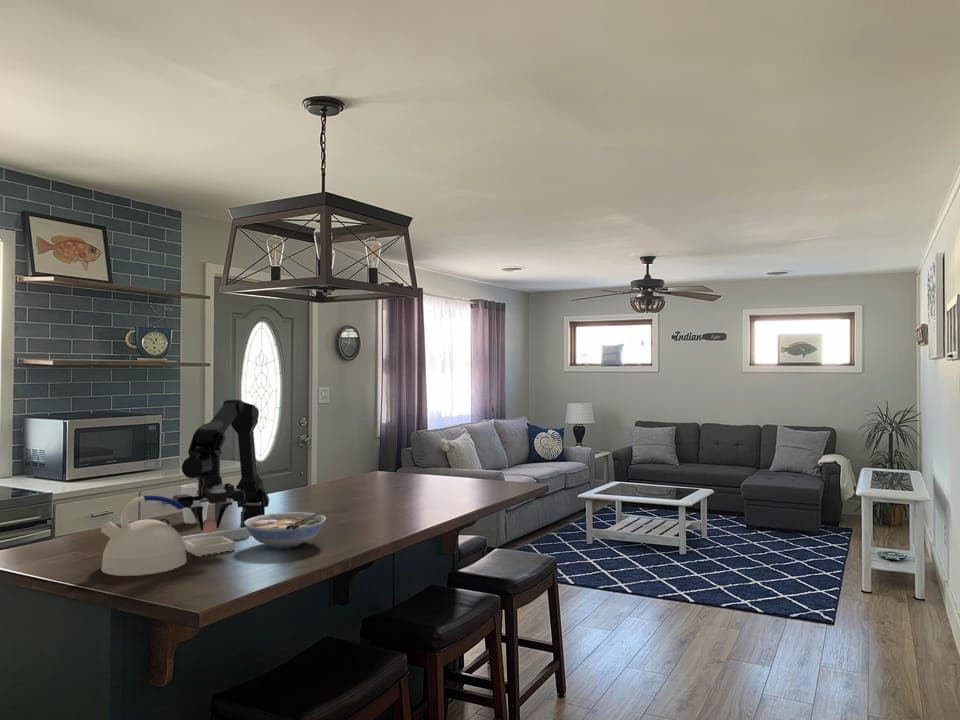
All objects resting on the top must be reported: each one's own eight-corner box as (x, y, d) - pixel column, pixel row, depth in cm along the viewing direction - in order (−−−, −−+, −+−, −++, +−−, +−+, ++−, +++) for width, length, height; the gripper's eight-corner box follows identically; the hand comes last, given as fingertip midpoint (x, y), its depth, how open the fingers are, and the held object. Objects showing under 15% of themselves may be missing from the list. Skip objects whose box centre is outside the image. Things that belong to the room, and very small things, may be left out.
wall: (247, 537, 226) (247, 527, 226) (248, 537, 225) (248, 527, 225) (178, 547, 213) (178, 537, 213) (180, 548, 213) (180, 537, 213)
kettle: (88, 566, 195) (88, 495, 195) (168, 551, 209) (168, 486, 209) (116, 582, 180) (116, 506, 180) (200, 565, 195) (200, 495, 195)
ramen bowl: (267, 534, 229) (266, 507, 229) (339, 537, 226) (339, 509, 226) (226, 555, 205) (226, 525, 205) (306, 558, 201) (306, 527, 201)
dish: (220, 543, 218) (220, 535, 218) (234, 550, 210) (234, 541, 210) (183, 549, 211) (183, 541, 211) (196, 556, 203) (196, 547, 203)
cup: (174, 523, 247) (174, 486, 248) (196, 518, 255) (196, 482, 256) (193, 525, 243) (193, 488, 243) (215, 520, 251) (215, 484, 251)
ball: (213, 530, 213) (213, 516, 213) (219, 533, 210) (219, 518, 210) (199, 533, 211) (199, 518, 211) (204, 535, 208) (204, 520, 208)
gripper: (184, 479, 198) (184, 539, 198) (253, 472, 210) (253, 529, 210) (170, 475, 207) (171, 532, 207) (237, 468, 219) (237, 522, 219)
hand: (209, 529), depth 210 cm, fingers closed on ball, 4 cm apart
